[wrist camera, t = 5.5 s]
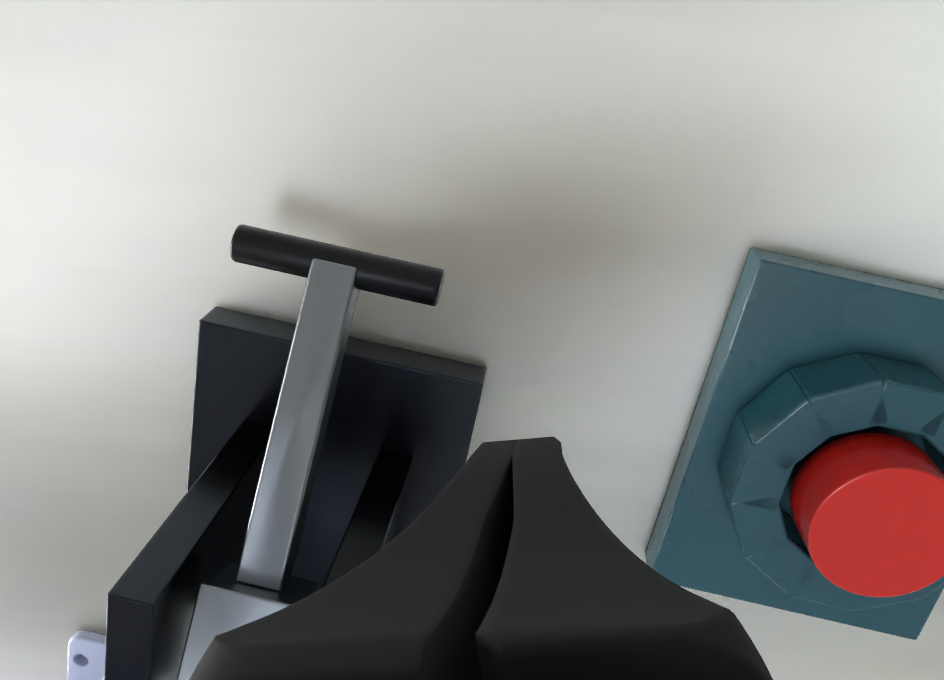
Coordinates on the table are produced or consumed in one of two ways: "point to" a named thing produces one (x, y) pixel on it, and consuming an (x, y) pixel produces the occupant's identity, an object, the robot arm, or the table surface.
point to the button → (872, 514)
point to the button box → (799, 431)
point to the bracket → (335, 486)
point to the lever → (295, 422)
